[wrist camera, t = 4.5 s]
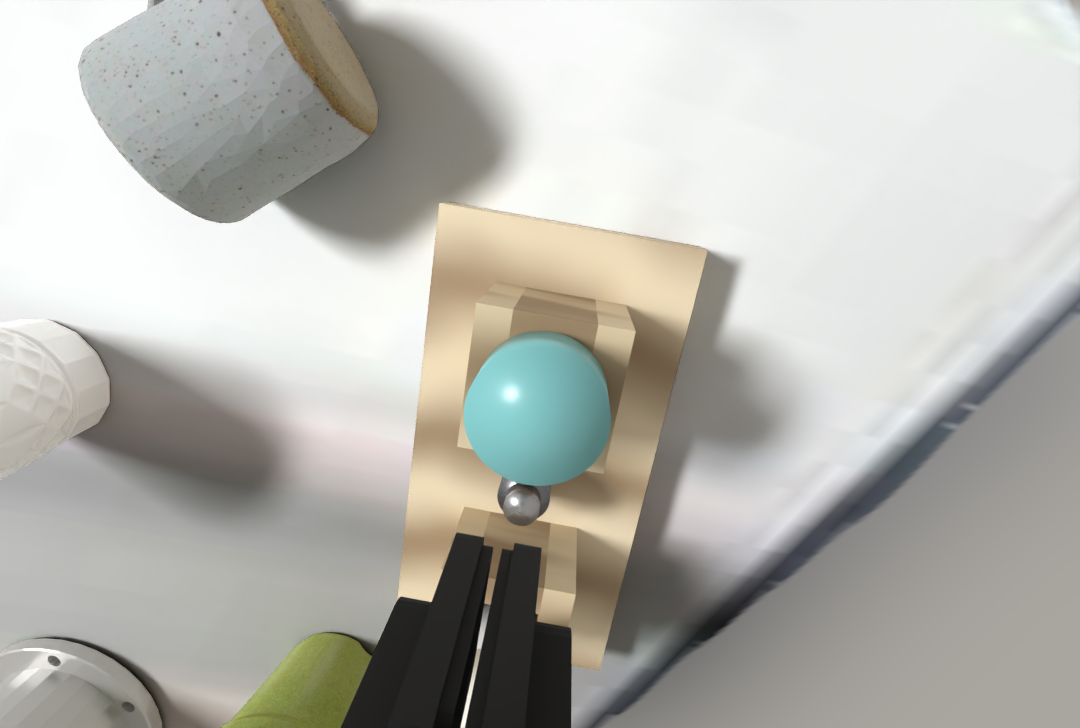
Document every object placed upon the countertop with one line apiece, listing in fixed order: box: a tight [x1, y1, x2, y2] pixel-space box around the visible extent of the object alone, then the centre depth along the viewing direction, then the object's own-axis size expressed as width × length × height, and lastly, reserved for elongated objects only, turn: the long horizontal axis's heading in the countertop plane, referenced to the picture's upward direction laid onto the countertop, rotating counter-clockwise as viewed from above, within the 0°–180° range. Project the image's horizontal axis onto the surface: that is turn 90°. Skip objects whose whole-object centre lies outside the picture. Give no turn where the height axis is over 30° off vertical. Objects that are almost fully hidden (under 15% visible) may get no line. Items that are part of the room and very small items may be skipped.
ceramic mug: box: [78, 0, 378, 223], centre depth 21 cm, size 11×8×8 cm
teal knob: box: [464, 331, 611, 486], centre depth 22 cm, size 5×5×8 cm
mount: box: [398, 202, 708, 671], centre depth 26 cm, size 24×12×7 cm, turn 170°
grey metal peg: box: [497, 477, 551, 526], centre depth 26 cm, size 2×2×4 cm
